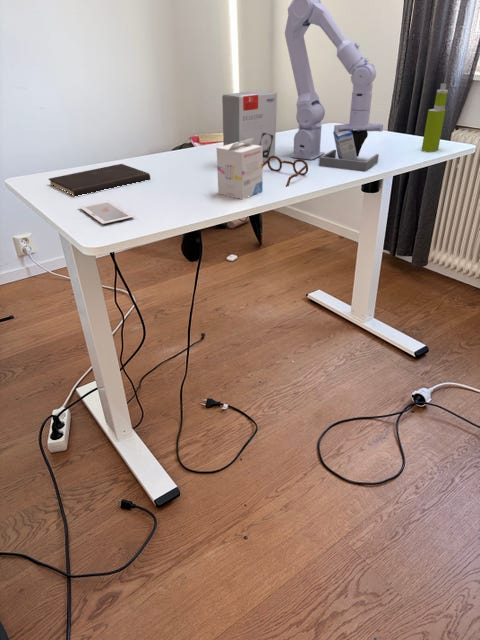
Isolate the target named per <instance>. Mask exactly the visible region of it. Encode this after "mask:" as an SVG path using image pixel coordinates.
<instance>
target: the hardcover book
mask: <svg viewBox="0 0 480 640" xmlns="http://www.w3.org/2000/svg"><path fill="white" fill-rule="evenodd" d="M145 180H148V181H151V174H150V172H146V171H143V170H141V169H138V168H135V167H132V166H129V165H126V164H124V163H119V164H113V165H109V166H105V167H104V166H103V167H100V168H99V167H98V168H94V169H89V170H83V171H79V172H74V173H70V174H65V175H59V176H55V177H54V176H53V177H49V178H48V181H50V185H51V184H52V185H54V186H56V187H58V188H61V189H63V190H65V191H67V192H68V193H71V194H73V195H74V196H78V195H82V194H87V193H91V192H96V191H100V190H104V189H109V188H113V189H115V188H114V187H117V186H122V185H126V186H128V185H127V184H130V185H133V184H132V183H135V184H137V183H136V182H139V183H142V182H141V181H143V182H146V181H145ZM52 185H51V186H52ZM54 186H53V187H54ZM56 187H55V188H56ZM122 187H123V186H122ZM58 188H57V189H58ZM117 188H118V187H117ZM109 190H110V189H109ZM104 191H105V190H104ZM100 192H101V191H100ZM68 193H67V194H68ZM96 193H97V192H96ZM91 194H92V193H91ZM87 195H88V194H87ZM74 196H73V197H74ZM78 197H79V196H78Z"/></svg>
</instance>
